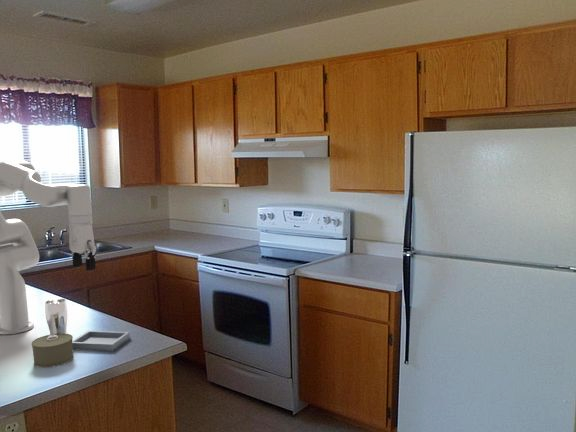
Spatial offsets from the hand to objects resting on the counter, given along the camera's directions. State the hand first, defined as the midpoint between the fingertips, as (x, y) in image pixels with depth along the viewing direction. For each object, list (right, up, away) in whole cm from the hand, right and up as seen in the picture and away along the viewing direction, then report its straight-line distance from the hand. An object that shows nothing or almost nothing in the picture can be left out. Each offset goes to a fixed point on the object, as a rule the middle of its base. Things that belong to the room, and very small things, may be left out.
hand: (84, 267), depth 183 cm
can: (-3, -28, -16) cm, 33 cm away
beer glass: (-9, -27, 0) cm, 28 cm away
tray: (+7, -26, -3) cm, 27 cm away
